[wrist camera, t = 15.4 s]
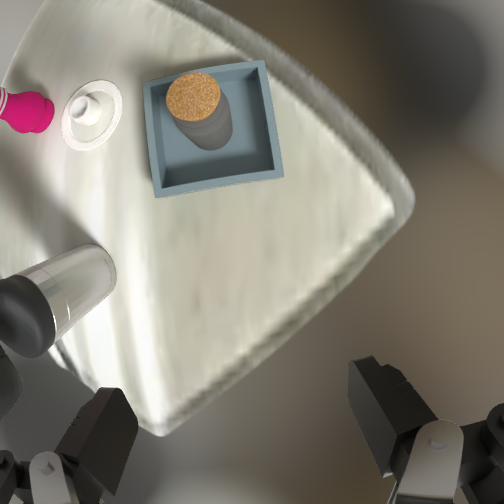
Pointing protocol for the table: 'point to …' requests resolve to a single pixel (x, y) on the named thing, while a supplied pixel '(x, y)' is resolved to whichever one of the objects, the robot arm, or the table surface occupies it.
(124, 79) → the table surface
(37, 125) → the pepper mill
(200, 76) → the bottle
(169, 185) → the tote
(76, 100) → the candle holder
